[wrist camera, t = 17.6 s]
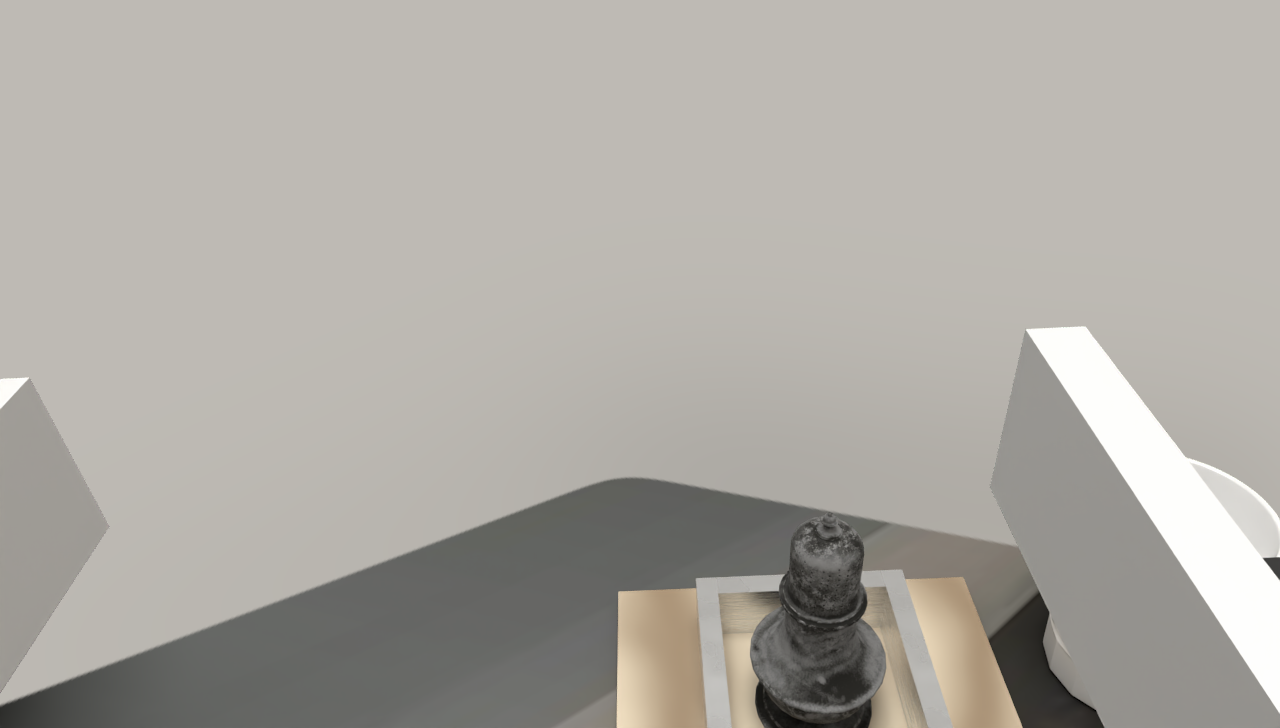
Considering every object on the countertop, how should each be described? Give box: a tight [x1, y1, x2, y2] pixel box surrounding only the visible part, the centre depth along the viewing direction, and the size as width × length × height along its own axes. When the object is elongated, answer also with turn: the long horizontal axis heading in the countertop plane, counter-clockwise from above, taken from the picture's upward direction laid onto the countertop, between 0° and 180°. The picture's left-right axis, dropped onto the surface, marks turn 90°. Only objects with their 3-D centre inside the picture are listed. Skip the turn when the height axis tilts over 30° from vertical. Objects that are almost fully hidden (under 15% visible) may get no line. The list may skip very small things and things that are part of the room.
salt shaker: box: [750, 512, 886, 728], centre depth 38 cm, size 6×6×12 cm
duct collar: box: [696, 570, 953, 728], centre depth 41 cm, size 10×10×3 cm
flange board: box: [617, 577, 1022, 728], centre depth 42 cm, size 18×14×1 cm
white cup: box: [1043, 458, 1280, 710], centre depth 41 cm, size 8×8×10 cm
